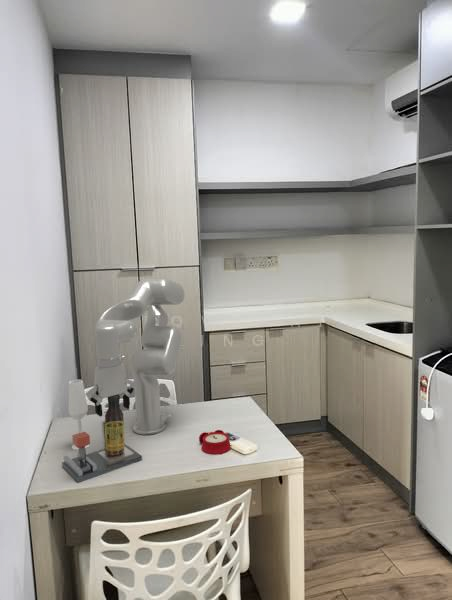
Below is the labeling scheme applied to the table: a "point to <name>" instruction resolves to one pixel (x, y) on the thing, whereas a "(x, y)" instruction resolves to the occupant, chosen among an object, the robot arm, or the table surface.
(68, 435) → the table surface
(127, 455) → the base
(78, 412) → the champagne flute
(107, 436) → the sauce bottle
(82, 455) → the press lever
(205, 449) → the alarm clock
